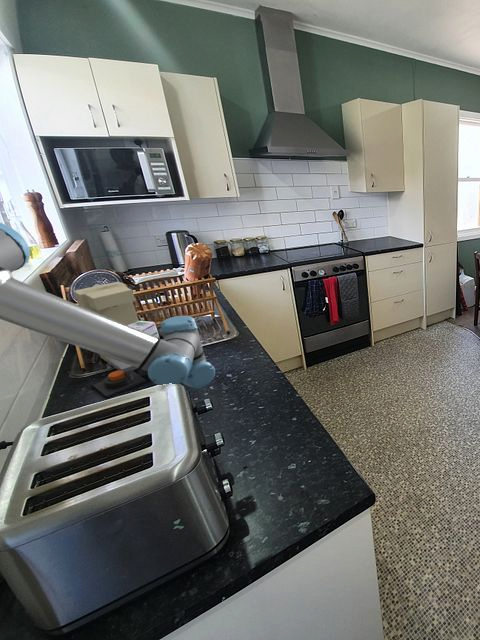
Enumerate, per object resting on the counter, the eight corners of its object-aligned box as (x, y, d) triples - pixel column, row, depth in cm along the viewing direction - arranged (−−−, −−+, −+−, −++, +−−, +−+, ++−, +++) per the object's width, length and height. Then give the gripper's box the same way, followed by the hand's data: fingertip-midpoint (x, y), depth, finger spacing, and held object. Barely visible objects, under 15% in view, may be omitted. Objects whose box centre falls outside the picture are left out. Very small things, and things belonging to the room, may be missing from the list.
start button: (113, 383, 104) (111, 378, 103) (108, 379, 105) (106, 374, 105) (127, 377, 106) (125, 372, 106) (122, 373, 108) (120, 369, 107)
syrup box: (168, 360, 115) (155, 320, 109) (153, 370, 109) (139, 329, 103) (152, 359, 115) (138, 319, 109) (136, 368, 110) (121, 327, 104)
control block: (107, 399, 101) (103, 390, 100) (93, 387, 105) (90, 379, 104) (147, 382, 109) (144, 374, 107) (132, 372, 113) (129, 365, 112)
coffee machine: (123, 374, 112) (95, 303, 102) (100, 358, 120) (72, 290, 110) (165, 359, 122) (143, 292, 111) (141, 344, 130) (118, 281, 119)
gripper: (137, 387, 94) (102, 362, 105) (212, 356, 110) (175, 337, 121) (128, 364, 91) (93, 340, 102) (206, 335, 107) (169, 317, 117)
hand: (138, 338), depth 111 cm, fingers closed on syrup box, 7 cm apart
